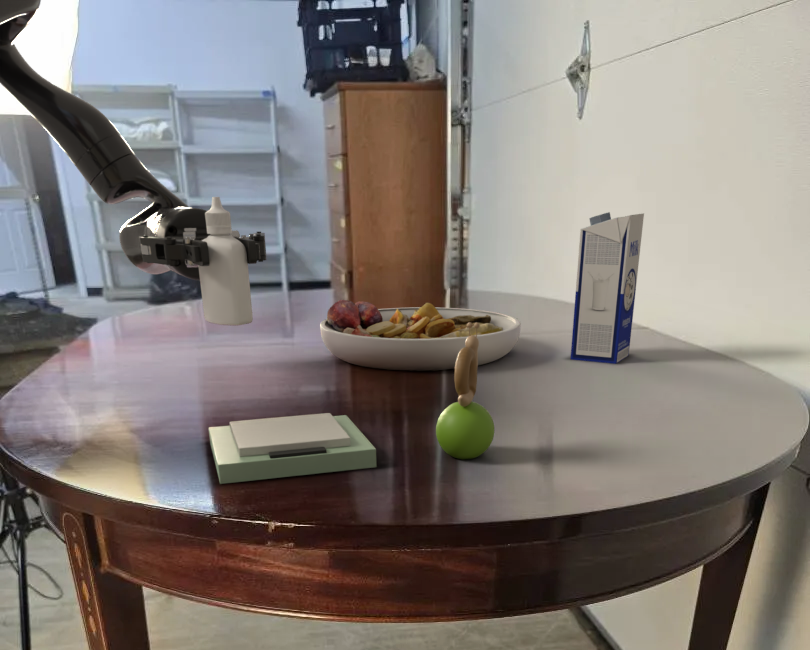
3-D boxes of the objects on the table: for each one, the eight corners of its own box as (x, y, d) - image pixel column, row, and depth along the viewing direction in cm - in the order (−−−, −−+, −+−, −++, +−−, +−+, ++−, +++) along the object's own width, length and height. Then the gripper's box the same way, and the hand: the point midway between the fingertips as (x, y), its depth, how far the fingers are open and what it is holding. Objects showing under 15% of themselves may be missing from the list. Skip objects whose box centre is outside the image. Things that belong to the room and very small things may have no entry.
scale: (220, 486, 67) (216, 455, 66) (210, 446, 77) (207, 419, 76) (376, 469, 70) (376, 440, 69) (347, 433, 81) (346, 407, 80)
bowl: (522, 339, 129) (525, 290, 126) (514, 379, 102) (517, 318, 99) (348, 335, 134) (346, 288, 131) (296, 373, 107) (292, 315, 104)
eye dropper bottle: (243, 316, 84) (231, 196, 79) (255, 325, 79) (244, 196, 74) (202, 320, 82) (188, 196, 77) (213, 328, 77) (198, 197, 72)
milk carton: (615, 365, 110) (631, 213, 101) (569, 361, 113) (581, 213, 104) (628, 356, 115) (644, 211, 107) (584, 353, 118) (597, 211, 110)
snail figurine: (497, 447, 76) (503, 322, 71) (489, 469, 70) (494, 334, 65) (443, 444, 77) (444, 321, 72) (430, 465, 71) (431, 332, 66)
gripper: (119, 208, 85) (149, 213, 71) (246, 206, 91) (296, 210, 77) (130, 280, 88) (160, 298, 74) (251, 273, 94) (301, 288, 80)
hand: (229, 253), depth 75 cm, fingers closed on eye dropper bottle, 4 cm apart
